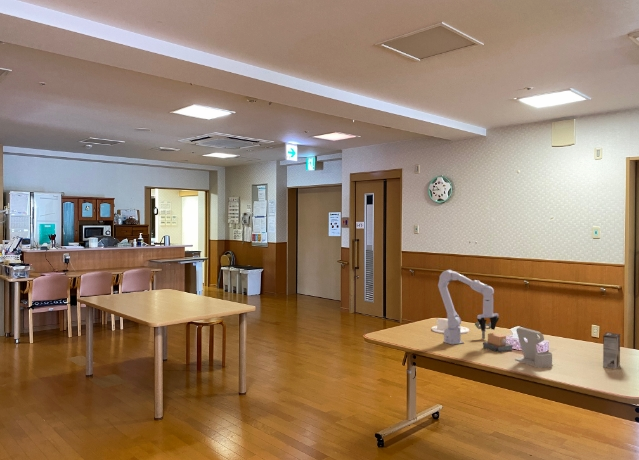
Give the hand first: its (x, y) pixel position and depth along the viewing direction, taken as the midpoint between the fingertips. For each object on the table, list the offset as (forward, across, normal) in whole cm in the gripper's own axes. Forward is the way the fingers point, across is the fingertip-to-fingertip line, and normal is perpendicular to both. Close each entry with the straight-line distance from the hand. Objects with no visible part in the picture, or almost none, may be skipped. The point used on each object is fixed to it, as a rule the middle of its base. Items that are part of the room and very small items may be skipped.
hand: (487, 330), depth 294 cm
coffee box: (+9, +27, -58) cm, 65 cm away
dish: (+10, +8, +44) cm, 45 cm away
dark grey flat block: (+9, 0, -8) cm, 12 cm away
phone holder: (+10, -3, -37) cm, 38 cm away
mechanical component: (+10, +11, +16) cm, 21 cm away
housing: (+6, 0, -7) cm, 9 cm away
